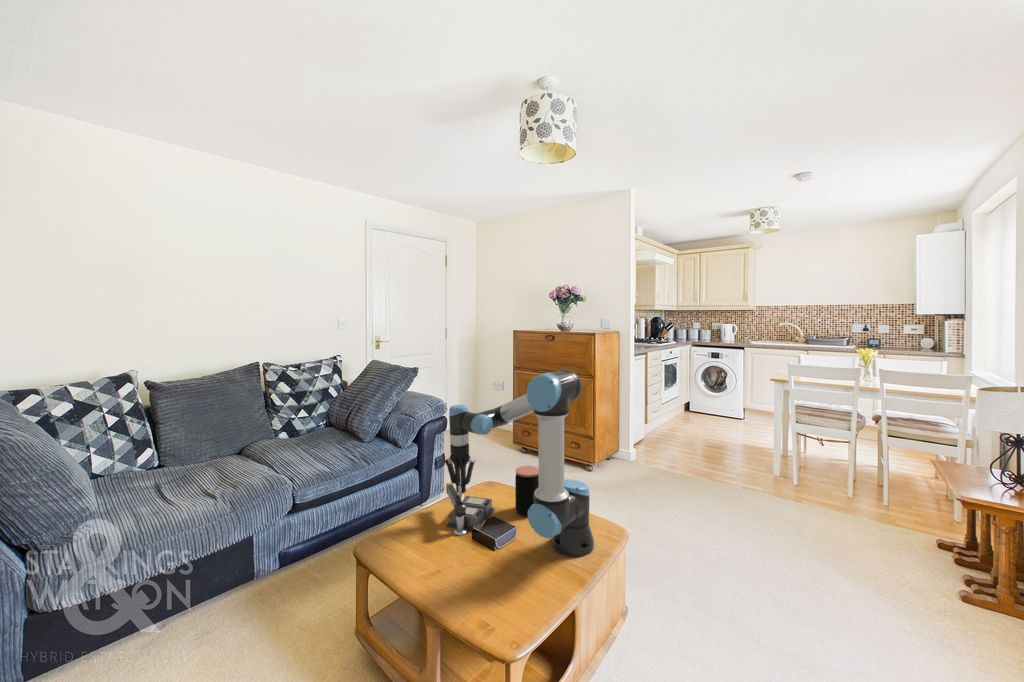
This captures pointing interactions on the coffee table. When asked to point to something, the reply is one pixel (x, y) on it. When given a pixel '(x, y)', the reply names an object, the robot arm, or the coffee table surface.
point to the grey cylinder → (460, 526)
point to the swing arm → (455, 500)
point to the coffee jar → (525, 488)
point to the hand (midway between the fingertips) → (461, 500)
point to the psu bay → (473, 512)
